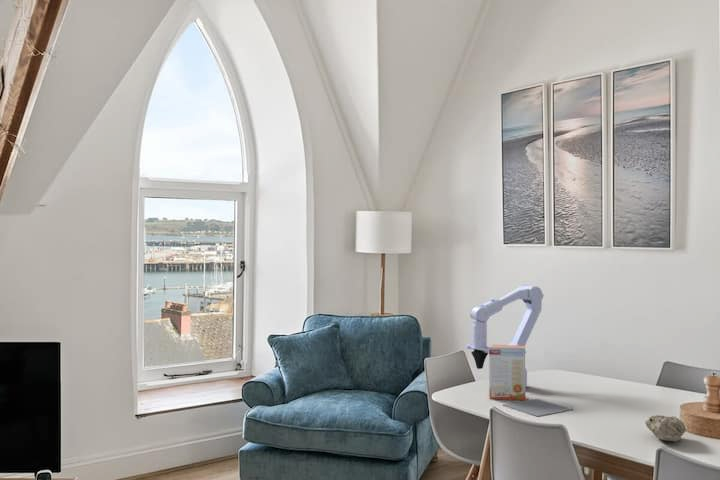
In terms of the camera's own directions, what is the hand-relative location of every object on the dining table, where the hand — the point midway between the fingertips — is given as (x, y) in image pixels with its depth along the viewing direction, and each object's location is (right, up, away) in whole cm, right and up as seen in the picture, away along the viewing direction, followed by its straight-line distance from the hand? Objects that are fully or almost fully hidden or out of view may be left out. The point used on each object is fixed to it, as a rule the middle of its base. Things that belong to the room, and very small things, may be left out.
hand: (479, 368), depth 280 cm
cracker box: (+8, -9, -14) cm, 19 cm away
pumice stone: (+47, -10, -68) cm, 83 cm away
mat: (+17, -9, -28) cm, 34 cm away
